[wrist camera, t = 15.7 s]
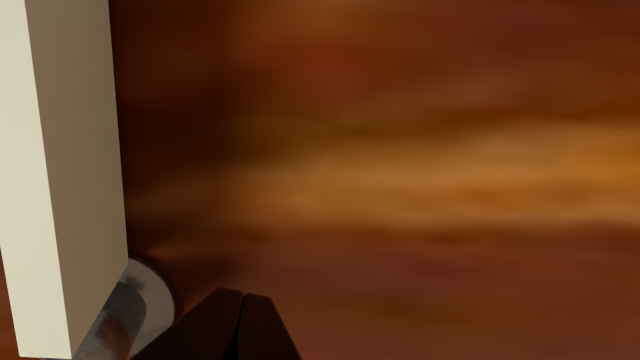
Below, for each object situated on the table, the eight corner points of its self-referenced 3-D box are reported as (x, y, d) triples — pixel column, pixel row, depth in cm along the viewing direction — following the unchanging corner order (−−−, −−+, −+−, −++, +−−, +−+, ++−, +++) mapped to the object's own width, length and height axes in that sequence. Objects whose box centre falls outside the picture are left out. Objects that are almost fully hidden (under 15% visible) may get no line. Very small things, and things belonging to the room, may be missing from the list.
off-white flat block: (130, 260, 20) (68, 364, 15) (90, 258, 20) (16, 361, 15) (105, -62, 16) (11, -65, 11) (56, -65, 16) (-62, -69, 11)
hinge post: (67, 348, 22) (1, 455, 17) (48, 249, 20) (-30, 339, 16) (180, 349, 22) (144, 456, 17) (171, 251, 20) (128, 340, 16)
